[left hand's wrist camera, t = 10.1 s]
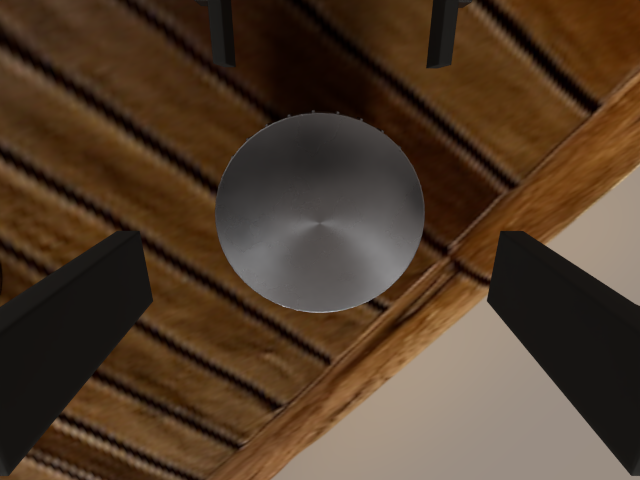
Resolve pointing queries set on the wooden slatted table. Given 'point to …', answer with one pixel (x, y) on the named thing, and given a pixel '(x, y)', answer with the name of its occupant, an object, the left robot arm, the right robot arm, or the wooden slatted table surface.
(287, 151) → the lid
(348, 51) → the wooden slatted table surface
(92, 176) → the wooden slatted table surface
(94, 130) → the wooden slatted table surface
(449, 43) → the right robot arm
